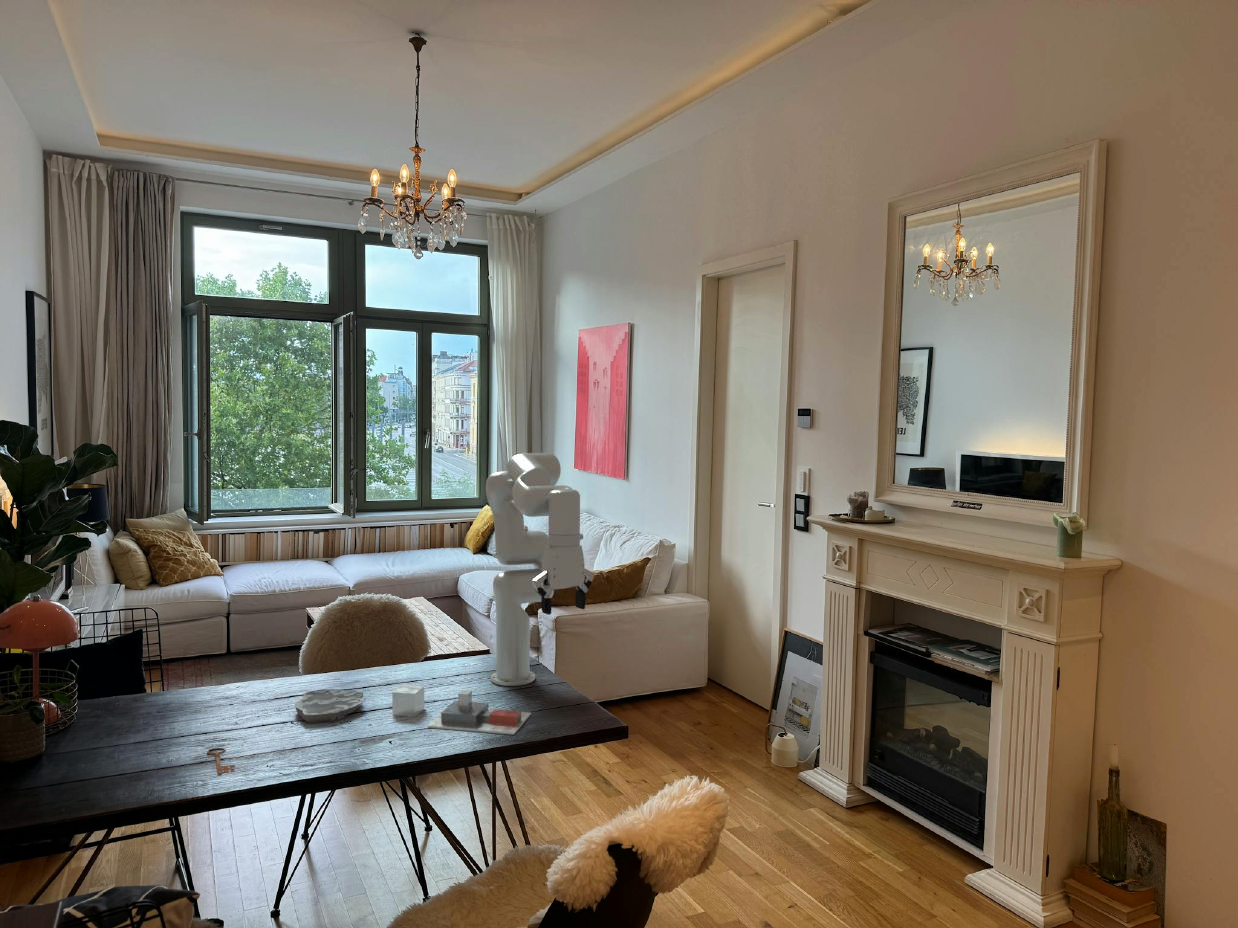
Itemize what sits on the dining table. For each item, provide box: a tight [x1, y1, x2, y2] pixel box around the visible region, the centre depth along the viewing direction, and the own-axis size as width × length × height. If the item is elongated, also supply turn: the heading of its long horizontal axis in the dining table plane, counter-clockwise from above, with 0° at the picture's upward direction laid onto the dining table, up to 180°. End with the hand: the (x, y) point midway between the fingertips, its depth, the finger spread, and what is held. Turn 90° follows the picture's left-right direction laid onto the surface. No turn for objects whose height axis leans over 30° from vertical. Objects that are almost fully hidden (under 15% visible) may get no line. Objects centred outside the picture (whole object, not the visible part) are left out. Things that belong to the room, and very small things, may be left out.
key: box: [206, 747, 236, 776], centre depth 192 cm, size 6×1×15 cm
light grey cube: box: [391, 684, 425, 718], centre depth 223 cm, size 6×6×6 cm
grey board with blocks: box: [427, 690, 532, 736], centre depth 217 cm, size 14×22×7 cm, turn 79°
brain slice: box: [294, 688, 367, 724], centre depth 223 cm, size 20×17×3 cm
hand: (563, 610), depth 210 cm, fingers open, 9 cm apart
